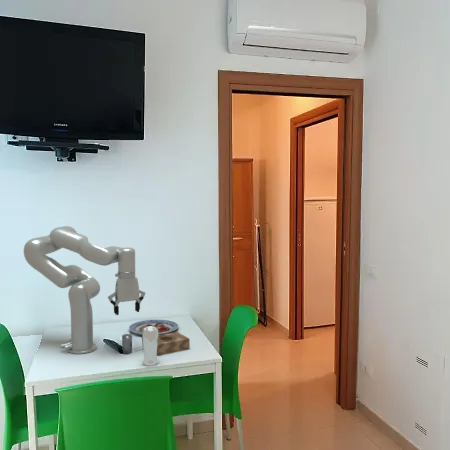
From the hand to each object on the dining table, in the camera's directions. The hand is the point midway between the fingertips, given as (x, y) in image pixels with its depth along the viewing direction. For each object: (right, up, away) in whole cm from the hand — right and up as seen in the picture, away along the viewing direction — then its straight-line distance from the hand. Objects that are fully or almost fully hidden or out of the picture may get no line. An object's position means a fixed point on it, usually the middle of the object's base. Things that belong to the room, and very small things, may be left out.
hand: (127, 312), depth 203 cm
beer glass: (+12, -19, -11) cm, 26 cm away
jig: (+17, -18, +6) cm, 25 cm away
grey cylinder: (0, -18, +1) cm, 18 cm away
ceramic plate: (+7, -16, +35) cm, 39 cm away
